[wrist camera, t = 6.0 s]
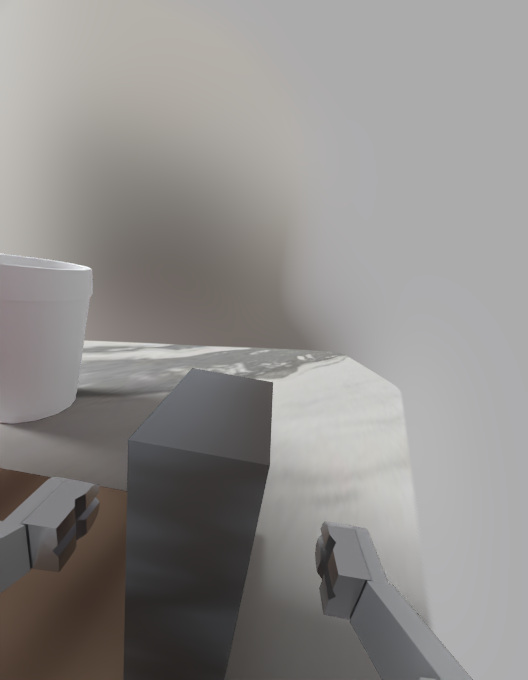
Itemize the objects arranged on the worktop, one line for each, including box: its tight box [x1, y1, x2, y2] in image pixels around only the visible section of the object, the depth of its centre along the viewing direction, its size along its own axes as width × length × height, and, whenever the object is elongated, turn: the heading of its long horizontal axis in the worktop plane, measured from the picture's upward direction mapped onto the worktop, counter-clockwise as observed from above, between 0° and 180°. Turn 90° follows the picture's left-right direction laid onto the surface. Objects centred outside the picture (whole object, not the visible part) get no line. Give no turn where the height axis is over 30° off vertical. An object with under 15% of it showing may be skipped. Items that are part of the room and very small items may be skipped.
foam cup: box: [0, 254, 93, 424], centre depth 21 cm, size 10×9×13 cm
